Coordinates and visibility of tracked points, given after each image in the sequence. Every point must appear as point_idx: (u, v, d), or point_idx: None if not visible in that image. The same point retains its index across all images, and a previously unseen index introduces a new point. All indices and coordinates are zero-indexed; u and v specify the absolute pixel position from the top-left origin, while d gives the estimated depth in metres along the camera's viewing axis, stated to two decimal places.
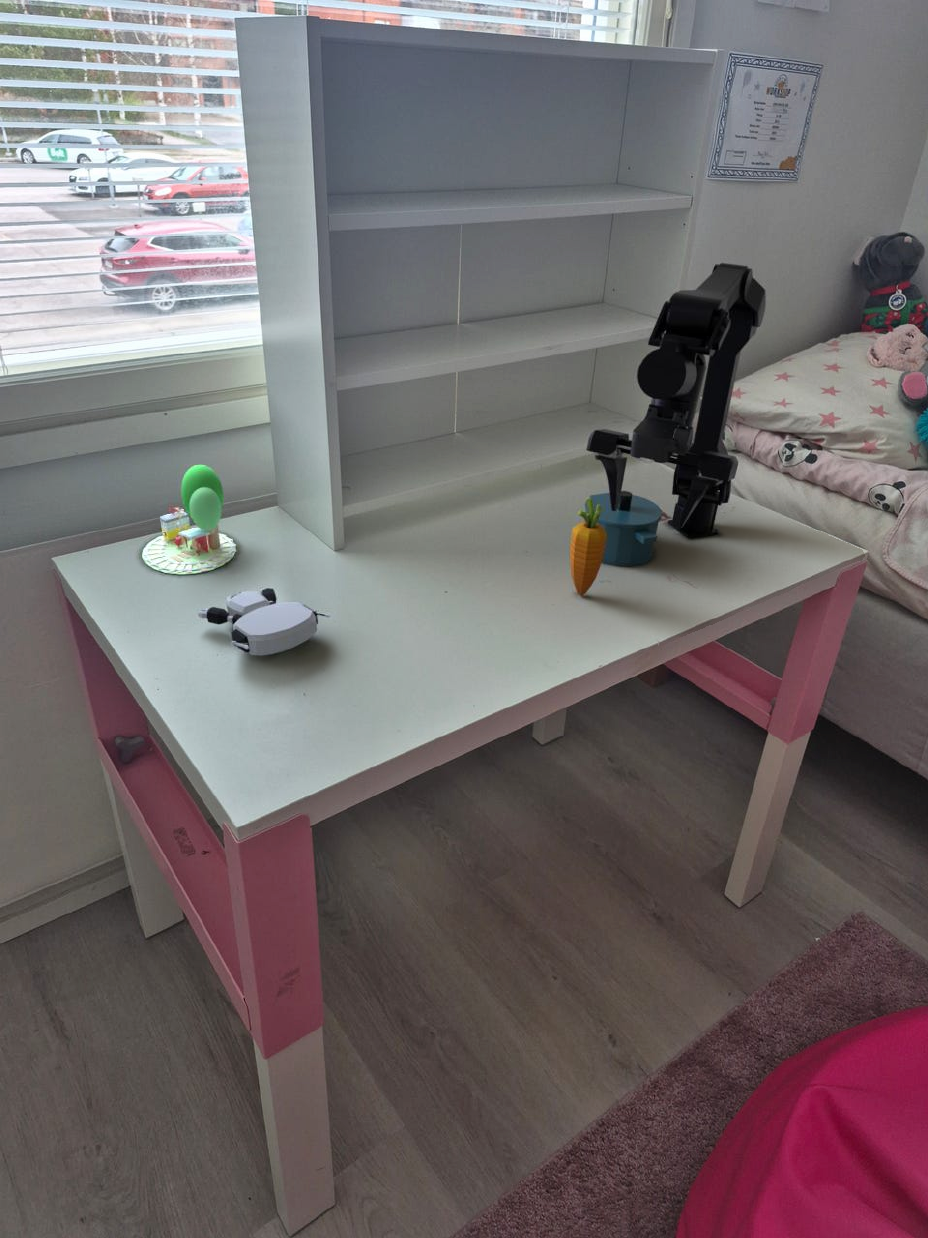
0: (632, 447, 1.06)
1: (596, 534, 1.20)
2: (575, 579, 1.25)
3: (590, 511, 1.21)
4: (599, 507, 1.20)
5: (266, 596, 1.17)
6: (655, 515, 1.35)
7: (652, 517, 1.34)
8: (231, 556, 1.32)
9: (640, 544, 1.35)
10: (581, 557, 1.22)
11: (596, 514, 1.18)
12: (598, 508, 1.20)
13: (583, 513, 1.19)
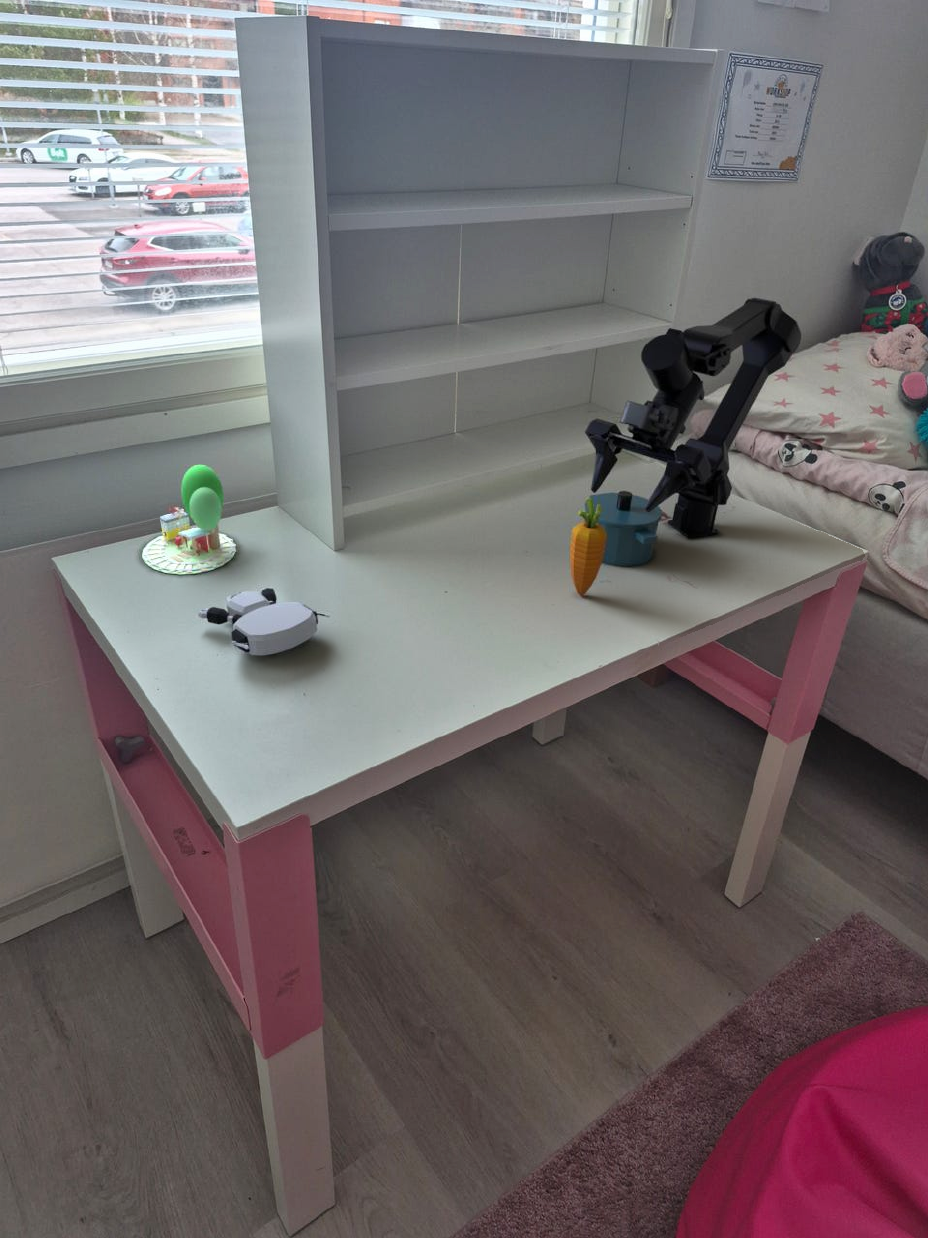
0: (622, 414, 1.20)
1: (596, 534, 1.20)
2: (575, 579, 1.25)
3: (590, 511, 1.21)
4: (599, 507, 1.20)
5: (266, 596, 1.17)
6: (655, 515, 1.35)
7: (652, 517, 1.34)
8: (231, 556, 1.32)
9: (640, 544, 1.35)
10: (581, 557, 1.22)
11: (596, 514, 1.18)
12: (598, 508, 1.20)
13: (583, 513, 1.19)
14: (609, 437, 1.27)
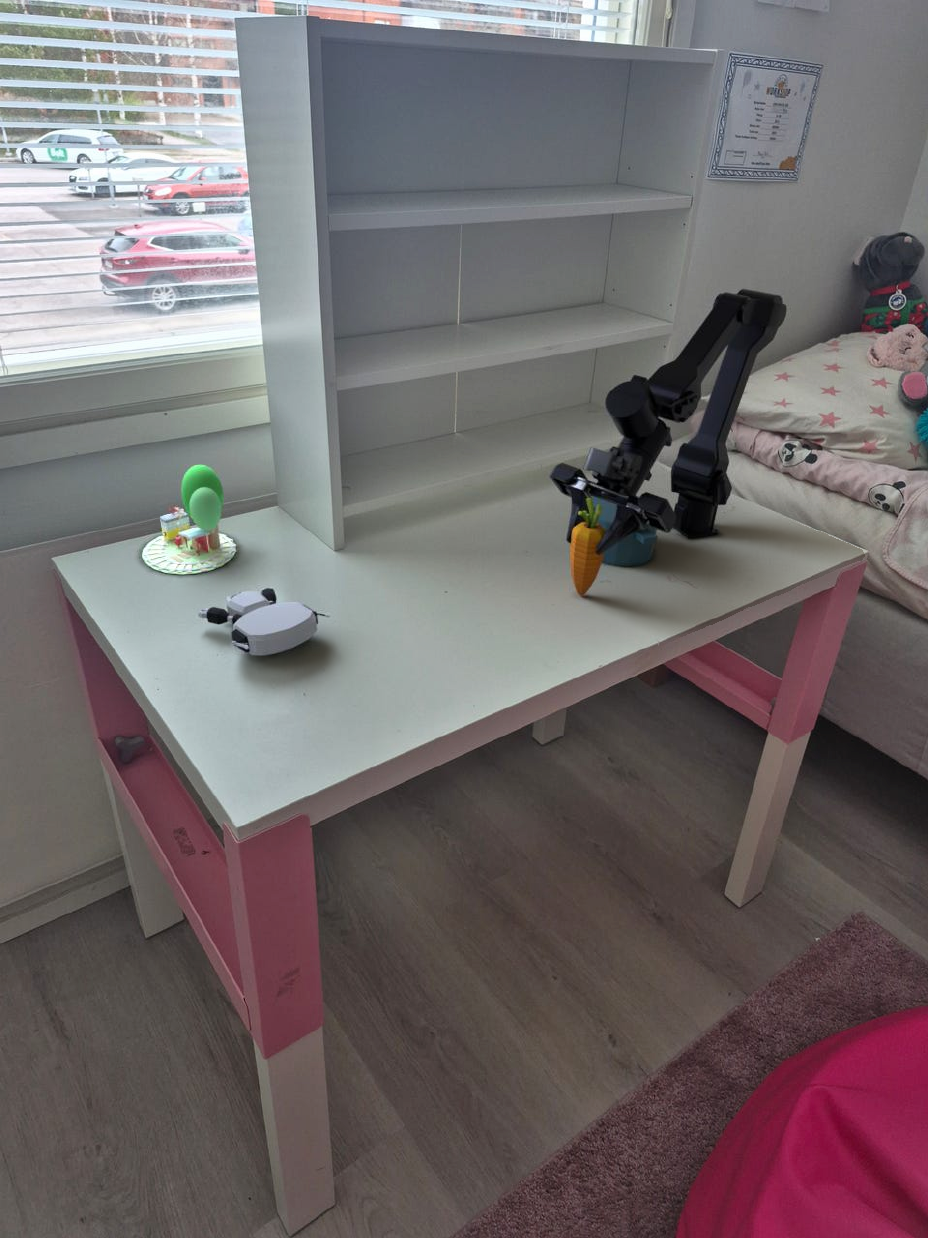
0: (586, 460, 1.18)
1: (596, 535, 1.20)
2: (575, 579, 1.25)
3: (590, 511, 1.21)
4: (599, 507, 1.20)
5: (266, 596, 1.17)
6: None
7: None
8: (231, 556, 1.32)
9: (640, 544, 1.35)
10: (581, 557, 1.22)
11: (596, 514, 1.18)
12: (598, 508, 1.20)
13: (583, 513, 1.19)
14: None
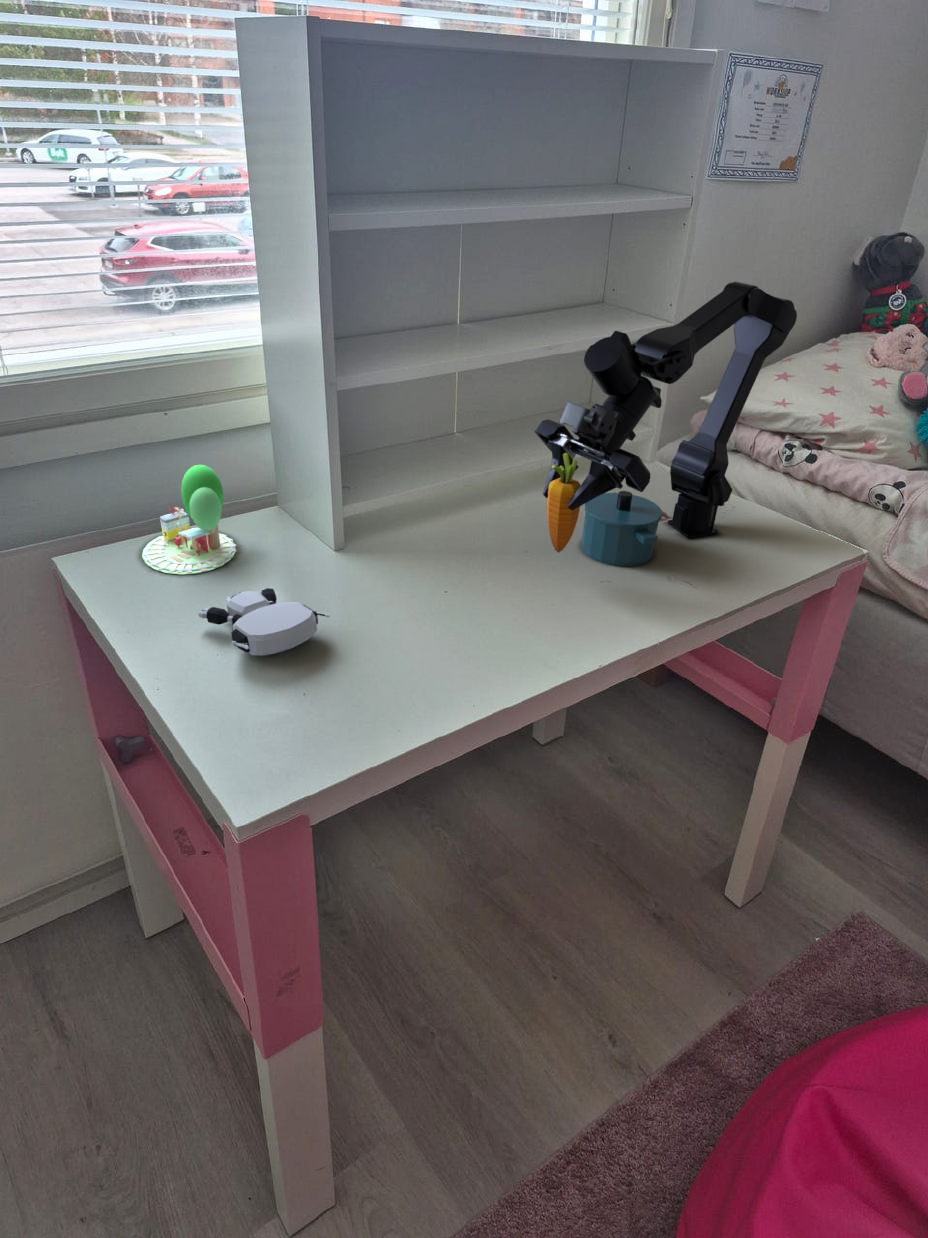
0: None
1: (569, 490, 1.21)
2: (550, 534, 1.26)
3: (566, 466, 1.22)
4: (574, 462, 1.21)
5: (266, 596, 1.17)
6: (655, 515, 1.35)
7: (652, 517, 1.34)
8: (231, 556, 1.32)
9: (640, 544, 1.35)
10: (554, 512, 1.23)
11: (568, 468, 1.19)
12: (573, 463, 1.21)
13: (557, 467, 1.20)
14: None
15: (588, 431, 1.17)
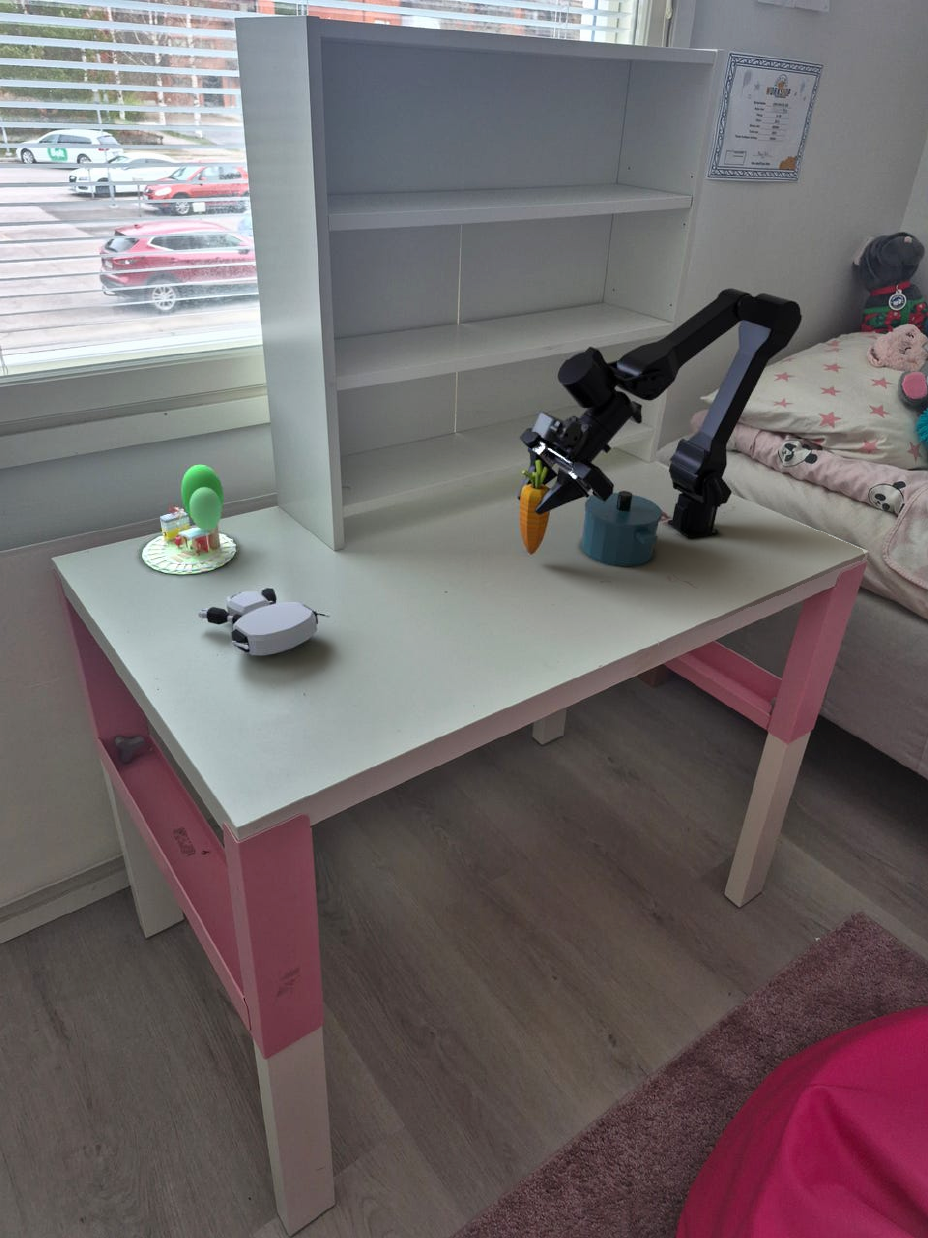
0: (534, 423, 1.25)
1: (537, 495, 1.27)
2: (522, 536, 1.32)
3: None
4: (544, 469, 1.27)
5: (266, 596, 1.17)
6: (655, 515, 1.35)
7: (652, 517, 1.34)
8: (231, 556, 1.32)
9: (640, 544, 1.35)
10: (524, 515, 1.29)
11: (536, 474, 1.26)
12: (543, 470, 1.27)
13: (526, 472, 1.27)
14: None
15: (555, 440, 1.23)
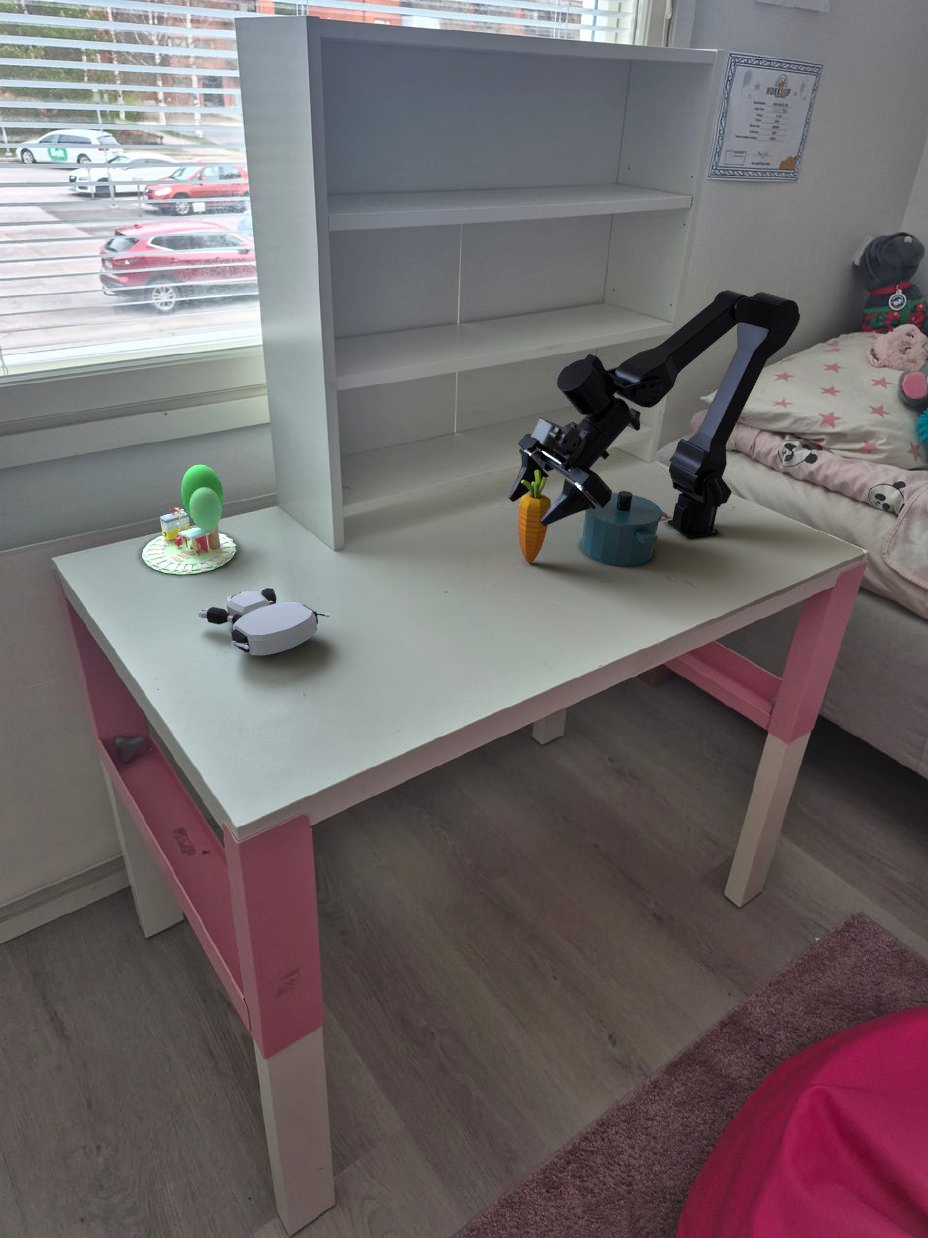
0: (533, 429, 1.26)
1: (536, 504, 1.28)
2: (520, 545, 1.33)
3: None
4: (543, 479, 1.28)
5: (266, 596, 1.17)
6: (655, 515, 1.35)
7: (652, 517, 1.34)
8: (231, 556, 1.32)
9: (640, 544, 1.35)
10: (523, 524, 1.30)
11: (535, 484, 1.26)
12: (542, 480, 1.28)
13: (525, 482, 1.28)
14: (535, 452, 1.32)
15: (553, 446, 1.23)
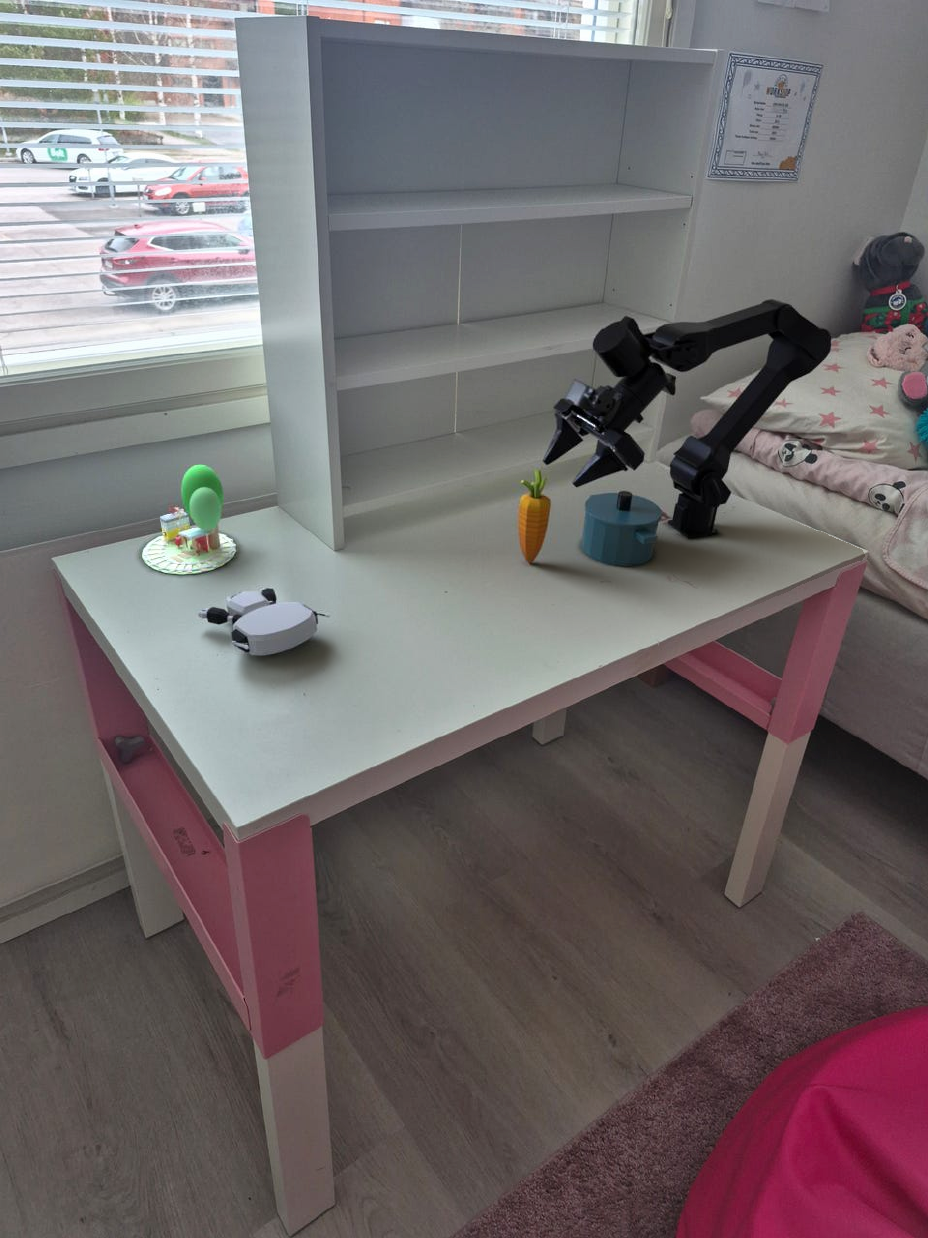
0: (568, 391, 1.27)
1: (536, 504, 1.28)
2: (520, 545, 1.33)
3: None
4: (543, 479, 1.28)
5: (266, 596, 1.17)
6: (655, 515, 1.35)
7: (652, 517, 1.34)
8: (231, 556, 1.32)
9: (640, 544, 1.35)
10: (523, 524, 1.30)
11: (535, 484, 1.26)
12: (542, 480, 1.28)
13: (525, 482, 1.28)
14: (570, 415, 1.34)
15: (587, 407, 1.25)
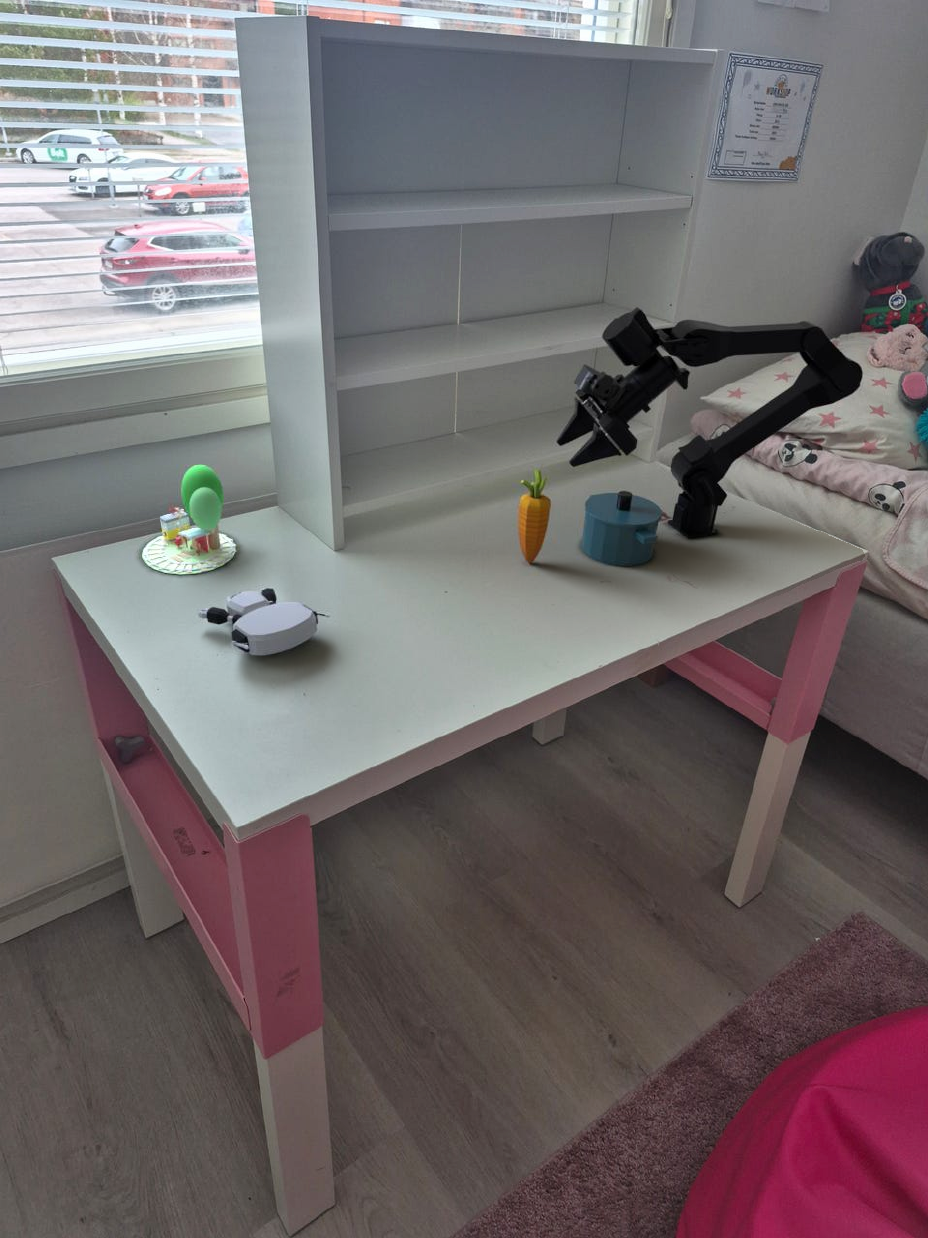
0: None
1: (536, 504, 1.28)
2: (520, 545, 1.33)
3: None
4: (543, 479, 1.28)
5: (266, 596, 1.17)
6: (655, 515, 1.35)
7: (652, 517, 1.34)
8: (231, 556, 1.32)
9: (640, 544, 1.35)
10: (523, 524, 1.30)
11: (535, 484, 1.26)
12: (542, 480, 1.28)
13: (525, 482, 1.28)
14: (587, 401, 1.40)
15: (589, 391, 1.31)
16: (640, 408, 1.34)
